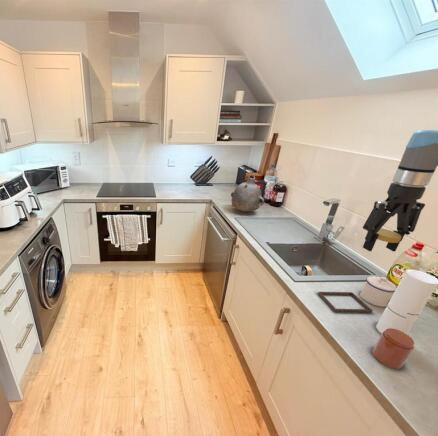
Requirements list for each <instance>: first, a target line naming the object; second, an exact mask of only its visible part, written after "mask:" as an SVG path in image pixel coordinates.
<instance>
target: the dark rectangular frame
mask: <svg viewBox="0 0 438 436" xmlns="http://www.w3.org/2000/svg"><path fill="white" fill-rule="evenodd" d="M317 295H318V296H319V297H320V298H321V299H322V300H323V302H325V304H326V305H327V306H328V307H329V308H330V309H331V310H332V311H333V313H365V314H366V313H367V314H372V313H373V309H372V308H371V307H370V306H369V305H367V304H366V303H365V302H364V301H363V300H361V298H360V297H358V295H356V294H355V293H354V292H351V291H349V292H348V291H318V292H317ZM325 296H351V297H352V298H353V300H355V301H356V302H357V303H358V304H360V305H361V306H362V307H363V308H336V307H335V306H334V305H333V304H332V303H331V302H330V300H329V299H327V298H326V297H325Z"/></svg>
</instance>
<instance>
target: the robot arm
mask: <svg viewBox="0 0 438 436" xmlns="http://www.w3.org/2000/svg"><path fill="white" fill-rule="evenodd" d="M437 168H438V129H419V130H418V129H417V130H416V131H414V132H413V133H412V134H411V136H410V138H409V140H408V142H407V144H406V145H405V149H404V152H403V154H402V157H401V160H400V162H399V164H398V167H397V169H396V171H395V173H394V176H393V178H392V182H391V183H390V184H389V186H388V189H387V191H386V194H387V198H385V200H384V201H379V200H375V201H374V203H373V208H372V209H371V212H370V213H369V216H368V218H367V219H366V220H365V222H364V223H363V226H362V229H363V230H365V231H367V232H366V234H365V238H364V242H363V245H362V248H363V249H365V250H366V251H368V252H372V251H373V249H374V247H375V244H376V242H377V240H378V239H377V238H378V236H379V234H378V233H377V232H378V231H379V230H380V229H381V228H382V229H383V227H384V226H385V224H387V222H388V221H389V220H390V219H391V218H392V217H394V216H395V215H396V230H393V231H394V232H396V233H398V234H400V235H401V240H400V241H399V242H397V243H391V242H387V243H386V246H385V248H386V249H387V250H390V251H391V252H396V251H397V250H398V247H399V245H400V243H401V242H402V241H403V240H404V237H405V235H406V236H409V235H410V234H411V233H413V232H415V231H416V227H417V224H418V222H419V219H420V215H421V213H422V211H423V209H424V208H425V206H426V203H424V202H421V201H418V200H421V199H422V198H423V196H424V194H425V192H426V189H427V188H426V187H427V186H429V185H430V182H431V180H432V177H433V176H434V174H435V172H436V170H437Z"/></svg>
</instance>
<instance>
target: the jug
mask: <svg viewBox="0 0 438 436" xmlns="http://www.w3.org/2000/svg"><path fill="white" fill-rule="evenodd" d="M255 176H256V175H254V174H250V175H248V177H247V179H246V180H247V181H246V182H244V183H243V182H241V183H240V184H238V185H237V186H236V188H235V189H234V191H232V192H231V194H230V197H231V206H232V207H233V208H234V209H236V210H240V211H242V212H243V213H244V212H250V211H251V212H252V211H257V210H259V208H261V207H260V206H263V205H264V203H265V198H262V195H261V190H260V188H259V186H258V185H256V184H255V180H256V177H255ZM261 200H262V203H261Z"/></svg>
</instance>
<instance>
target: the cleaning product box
mask: <svg viewBox="0 0 438 436" xmlns="http://www.w3.org/2000/svg"><path fill="white" fill-rule="evenodd" d="M247 180H248V179H243V180H242V183H244V182H246V181H247ZM267 183H268V182H267V181H266V180H263V179H255V184H256V185H258V186H259V188H260V190H261V195H262V198H263V199H265V198H264V197H265V193H266V188H267V185H268V184H267ZM261 203H262V200H261Z"/></svg>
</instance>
